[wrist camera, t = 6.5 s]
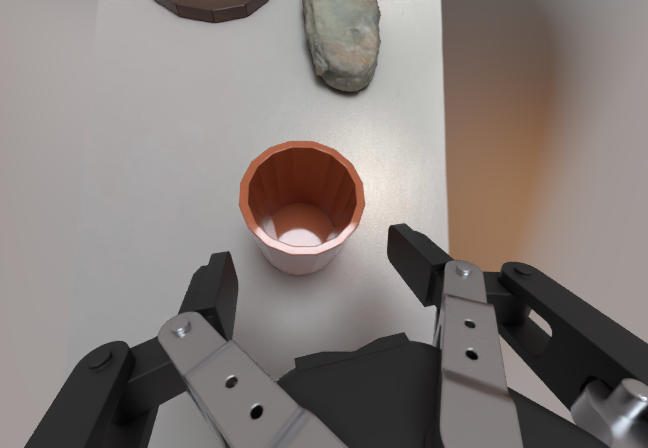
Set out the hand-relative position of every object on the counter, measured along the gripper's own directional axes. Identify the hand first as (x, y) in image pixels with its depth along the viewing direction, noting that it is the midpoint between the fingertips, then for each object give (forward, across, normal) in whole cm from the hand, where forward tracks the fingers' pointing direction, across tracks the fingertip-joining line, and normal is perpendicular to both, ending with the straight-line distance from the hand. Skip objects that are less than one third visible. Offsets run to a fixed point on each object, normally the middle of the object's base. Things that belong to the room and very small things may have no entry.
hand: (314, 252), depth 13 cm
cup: (+8, 0, +4) cm, 9 cm away
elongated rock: (+30, -10, -19) cm, 37 cm away
